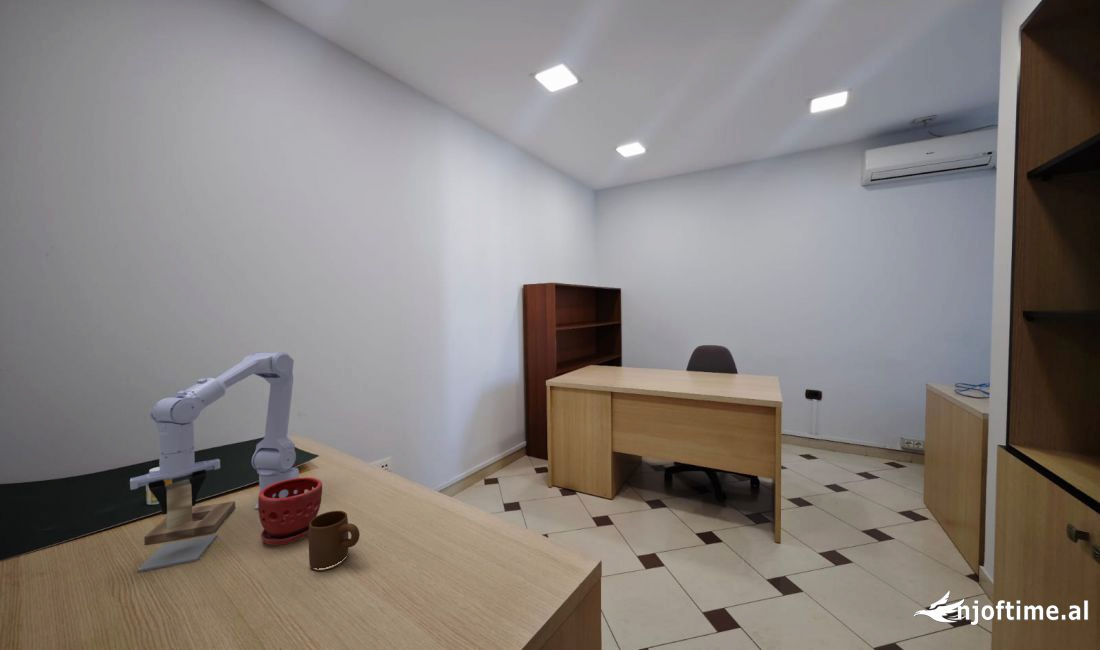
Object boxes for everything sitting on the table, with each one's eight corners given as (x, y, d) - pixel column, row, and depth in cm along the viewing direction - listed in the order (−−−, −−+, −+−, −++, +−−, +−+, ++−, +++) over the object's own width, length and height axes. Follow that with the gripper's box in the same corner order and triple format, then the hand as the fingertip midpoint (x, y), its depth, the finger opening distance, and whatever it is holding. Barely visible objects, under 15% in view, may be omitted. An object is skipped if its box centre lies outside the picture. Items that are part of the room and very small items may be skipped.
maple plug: (189, 516, 89) (188, 479, 89) (192, 522, 87) (191, 483, 86) (165, 523, 86) (164, 485, 86) (167, 530, 84) (166, 490, 83)
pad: (217, 536, 93) (217, 534, 93) (197, 560, 84) (197, 558, 84) (164, 546, 89) (164, 544, 89) (137, 572, 80) (137, 570, 80)
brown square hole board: (235, 508, 107) (235, 501, 107) (214, 532, 95) (214, 524, 95) (174, 517, 102) (174, 510, 102) (144, 545, 90) (144, 536, 90)
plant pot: (285, 554, 86) (284, 502, 85) (245, 543, 90) (244, 494, 89) (334, 524, 98) (333, 479, 98) (298, 516, 102) (297, 472, 102)
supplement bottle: (177, 496, 114) (176, 465, 114) (157, 505, 109) (156, 472, 108) (162, 496, 114) (161, 464, 114) (141, 504, 109) (140, 471, 109)
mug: (372, 556, 84) (371, 515, 84) (344, 579, 77) (343, 534, 77) (330, 547, 88) (329, 507, 88) (300, 568, 81) (299, 525, 81)
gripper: (215, 438, 94) (216, 491, 94) (128, 455, 83) (130, 516, 83) (221, 444, 89) (223, 500, 90) (130, 462, 78) (132, 527, 79)
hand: (178, 508), depth 86 cm, fingers closed on maple plug, 4 cm apart
